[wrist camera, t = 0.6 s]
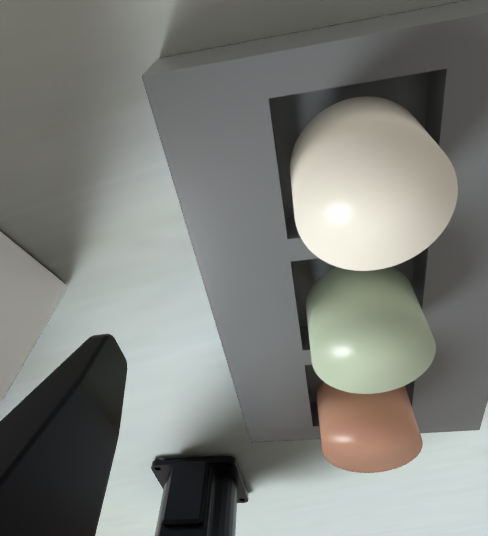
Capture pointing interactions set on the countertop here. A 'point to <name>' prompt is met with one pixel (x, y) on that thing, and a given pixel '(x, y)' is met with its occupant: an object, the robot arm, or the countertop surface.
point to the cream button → (369, 185)
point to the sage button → (367, 331)
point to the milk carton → (22, 307)
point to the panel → (282, 211)
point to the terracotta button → (367, 429)
